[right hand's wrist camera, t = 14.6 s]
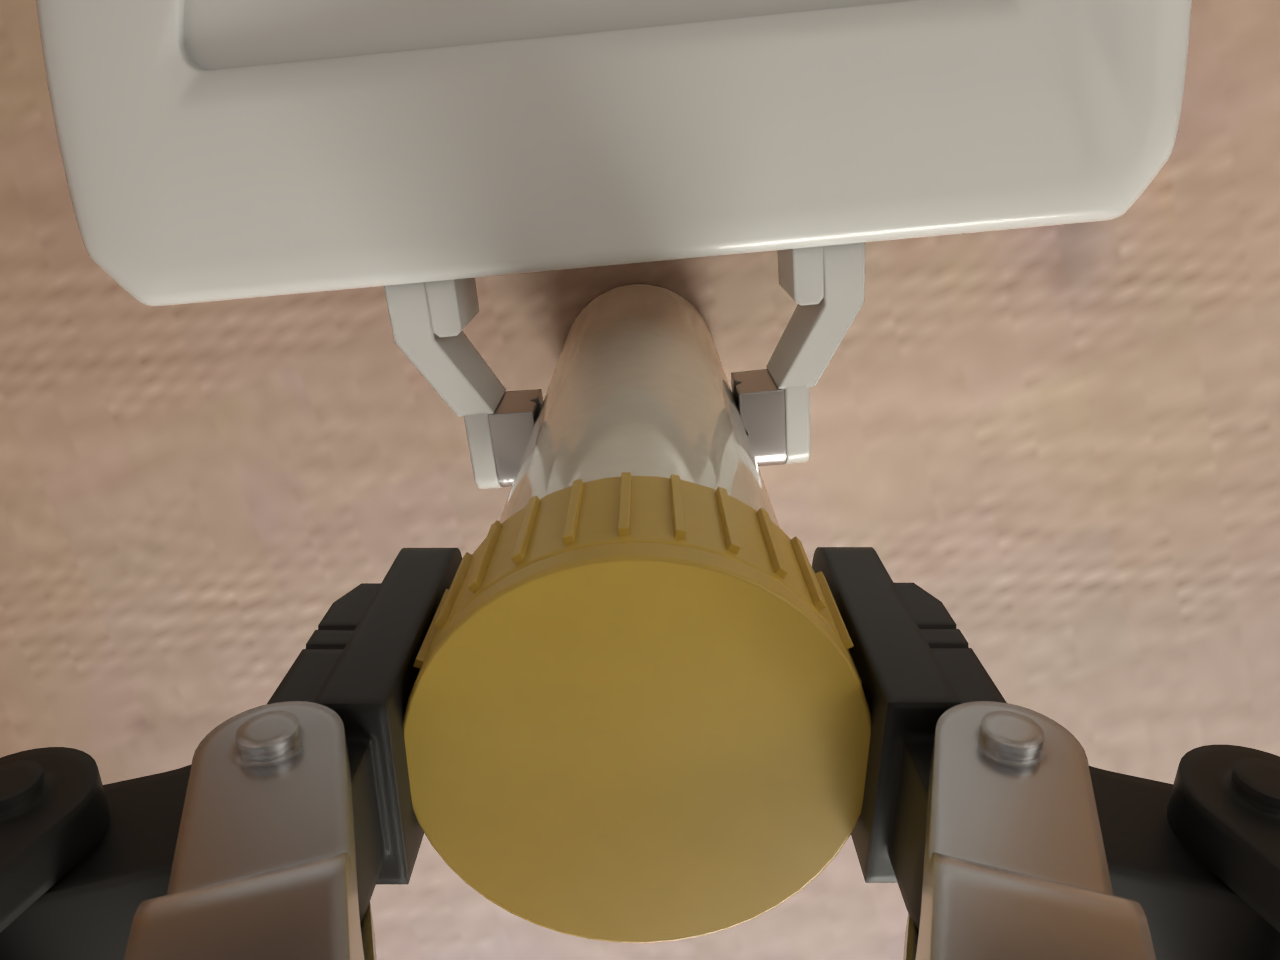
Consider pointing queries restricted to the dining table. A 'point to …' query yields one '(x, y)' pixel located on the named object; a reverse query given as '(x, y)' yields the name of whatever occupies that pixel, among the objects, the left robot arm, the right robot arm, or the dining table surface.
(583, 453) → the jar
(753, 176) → the left robot arm
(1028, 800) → the right robot arm
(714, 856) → the lid
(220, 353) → the dining table surface
